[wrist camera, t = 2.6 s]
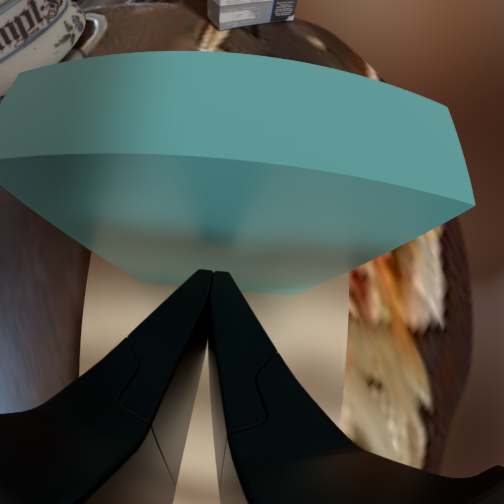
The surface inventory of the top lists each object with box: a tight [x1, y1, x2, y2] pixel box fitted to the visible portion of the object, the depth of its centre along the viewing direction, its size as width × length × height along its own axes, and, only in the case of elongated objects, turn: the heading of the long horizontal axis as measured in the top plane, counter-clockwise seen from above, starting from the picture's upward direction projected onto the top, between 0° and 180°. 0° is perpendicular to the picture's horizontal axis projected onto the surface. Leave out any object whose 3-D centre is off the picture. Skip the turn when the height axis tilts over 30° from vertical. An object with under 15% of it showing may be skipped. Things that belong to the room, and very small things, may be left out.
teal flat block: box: [0, 51, 475, 295], centre depth 9 cm, size 2×8×12 cm, turn 86°
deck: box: [79, 252, 349, 504], centre depth 15 cm, size 16×14×3 cm
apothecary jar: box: [0, 0, 88, 97], centre depth 12 cm, size 12×12×18 cm
